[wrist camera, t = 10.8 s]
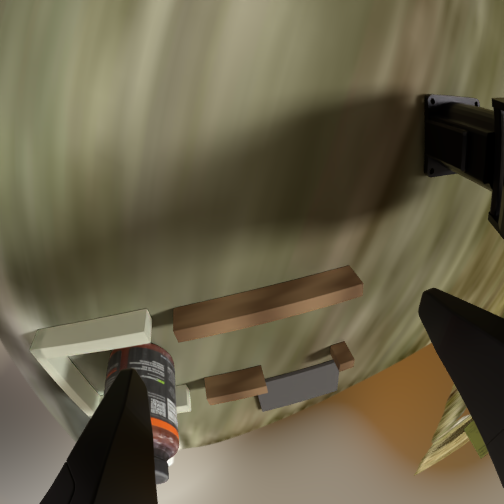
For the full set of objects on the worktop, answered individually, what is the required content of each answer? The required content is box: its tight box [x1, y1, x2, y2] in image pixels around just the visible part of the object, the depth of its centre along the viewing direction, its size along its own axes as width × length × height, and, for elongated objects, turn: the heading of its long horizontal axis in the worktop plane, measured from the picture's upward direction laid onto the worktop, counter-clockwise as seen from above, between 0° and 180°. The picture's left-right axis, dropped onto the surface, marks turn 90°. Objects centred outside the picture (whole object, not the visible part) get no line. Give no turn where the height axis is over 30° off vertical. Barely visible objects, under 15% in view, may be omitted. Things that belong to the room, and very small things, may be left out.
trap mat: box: [258, 360, 339, 412], centre depth 31 cm, size 9×6×1 cm, turn 99°
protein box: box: [464, 420, 489, 458], centre depth 67 cm, size 10×15×16 cm
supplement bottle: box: [104, 343, 179, 484], centre depth 20 cm, size 6×6×11 cm
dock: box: [30, 309, 191, 418], centre depth 24 cm, size 11×11×2 cm
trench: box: [173, 266, 363, 405], centre depth 25 cm, size 14×10×2 cm
